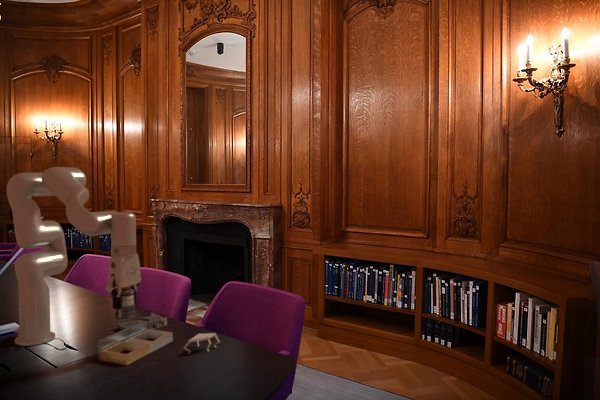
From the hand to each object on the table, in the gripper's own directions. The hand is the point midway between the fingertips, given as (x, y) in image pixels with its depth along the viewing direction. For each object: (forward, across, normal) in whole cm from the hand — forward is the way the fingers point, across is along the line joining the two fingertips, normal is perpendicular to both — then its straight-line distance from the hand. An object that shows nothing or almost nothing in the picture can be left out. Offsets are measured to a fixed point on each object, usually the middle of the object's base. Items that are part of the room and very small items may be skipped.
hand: (124, 305), depth 149 cm
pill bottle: (+4, 0, 0) cm, 4 cm away
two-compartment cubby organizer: (+17, +6, 0) cm, 18 cm away
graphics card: (+18, +27, +17) cm, 36 cm away
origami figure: (+17, +14, -19) cm, 29 cm away
